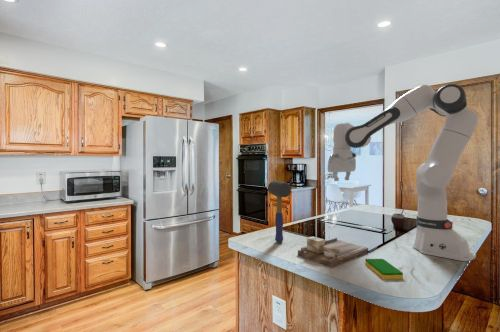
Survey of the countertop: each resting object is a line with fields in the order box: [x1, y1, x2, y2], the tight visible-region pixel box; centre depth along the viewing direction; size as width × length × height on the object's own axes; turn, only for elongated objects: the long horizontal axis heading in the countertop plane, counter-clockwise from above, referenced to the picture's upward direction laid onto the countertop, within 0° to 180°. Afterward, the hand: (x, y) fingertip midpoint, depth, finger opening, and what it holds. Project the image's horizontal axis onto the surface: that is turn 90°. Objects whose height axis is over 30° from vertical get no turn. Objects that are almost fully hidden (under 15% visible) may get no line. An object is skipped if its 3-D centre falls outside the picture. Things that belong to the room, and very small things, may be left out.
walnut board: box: [297, 237, 369, 268], centre depth 119 cm, size 18×26×3 cm
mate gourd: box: [390, 202, 410, 231], centre depth 162 cm, size 8×8×15 cm
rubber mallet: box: [267, 180, 292, 244], centre depth 135 cm, size 12×8×30 cm, turn 22°
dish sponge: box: [364, 258, 404, 280], centre depth 102 cm, size 7×14×2 cm, turn 2°
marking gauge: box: [306, 236, 340, 257], centre depth 114 cm, size 14×4×5 cm, turn 38°
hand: (341, 180), depth 146 cm, fingers open, 8 cm apart
